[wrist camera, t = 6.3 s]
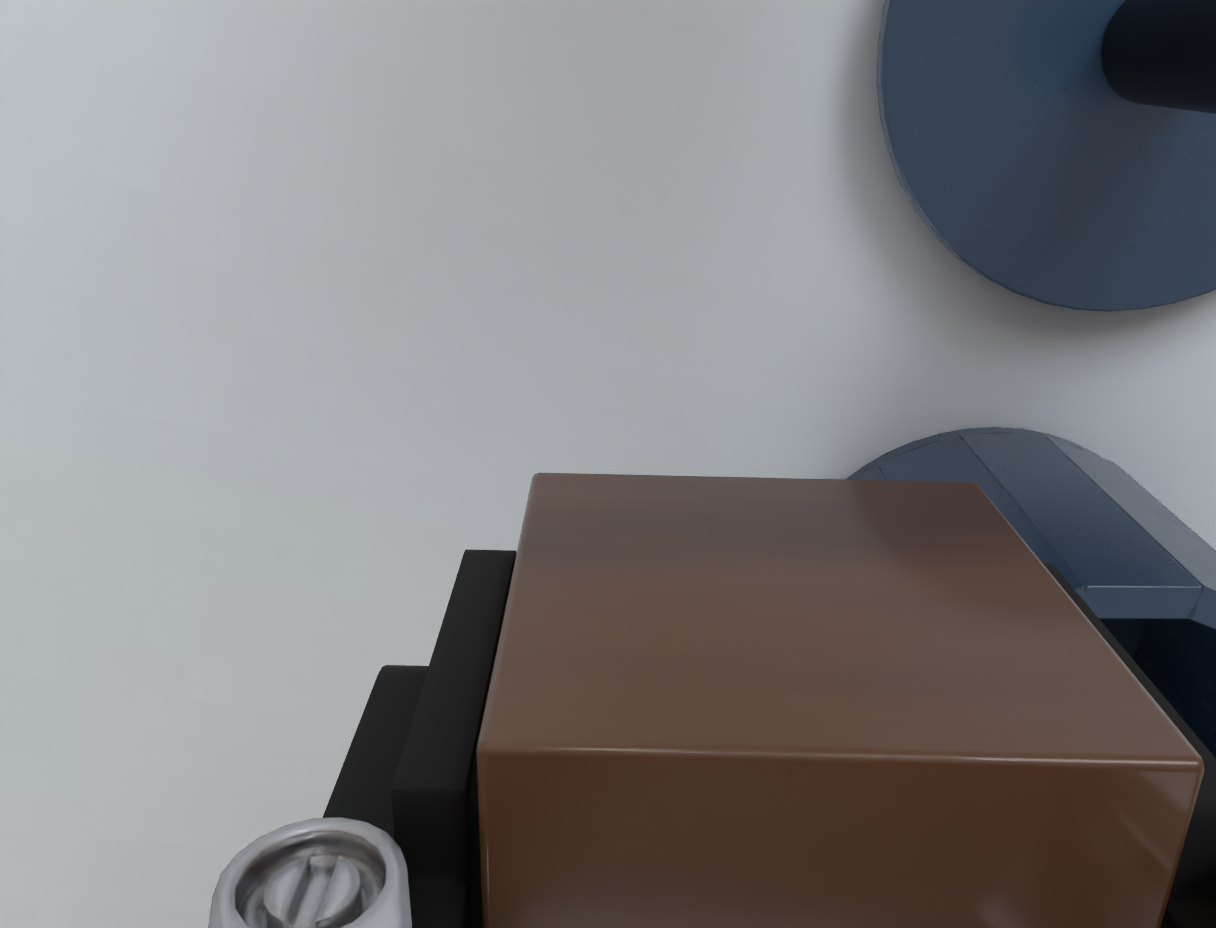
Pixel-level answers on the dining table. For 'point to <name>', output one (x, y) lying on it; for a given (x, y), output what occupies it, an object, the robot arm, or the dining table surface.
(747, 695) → the block
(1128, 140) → the lid
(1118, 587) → the pot
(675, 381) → the dining table surface
